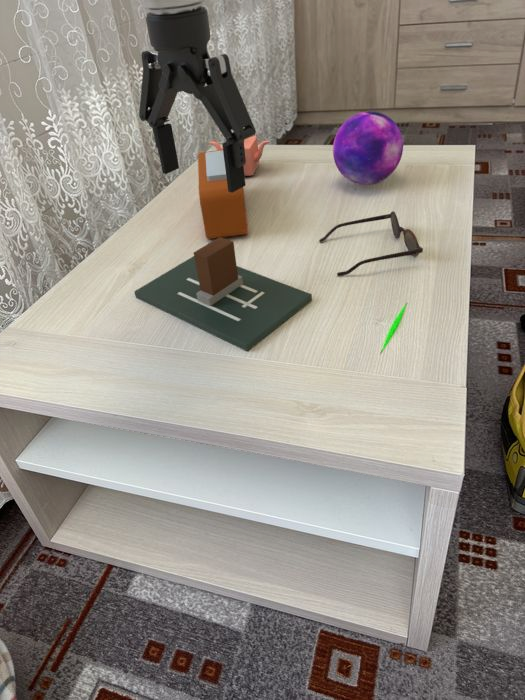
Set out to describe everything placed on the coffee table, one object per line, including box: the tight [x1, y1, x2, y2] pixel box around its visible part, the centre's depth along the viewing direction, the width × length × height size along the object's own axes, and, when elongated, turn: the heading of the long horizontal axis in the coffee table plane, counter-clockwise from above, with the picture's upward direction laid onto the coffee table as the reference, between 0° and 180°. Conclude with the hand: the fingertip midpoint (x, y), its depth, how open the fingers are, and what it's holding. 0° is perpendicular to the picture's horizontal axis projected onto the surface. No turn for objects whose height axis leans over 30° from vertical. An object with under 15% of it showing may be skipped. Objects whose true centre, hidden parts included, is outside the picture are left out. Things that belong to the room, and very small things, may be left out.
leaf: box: [379, 302, 408, 355], centre depth 83 cm, size 1×14×1 cm, turn 153°
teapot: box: [208, 135, 270, 177], centre depth 133 cm, size 12×15×8 cm
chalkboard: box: [133, 255, 313, 352], centre depth 92 cm, size 26×16×1 cm, turn 50°
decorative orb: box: [332, 110, 404, 186], centre depth 120 cm, size 15×15×15 cm
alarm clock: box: [197, 149, 249, 240], centre depth 114 cm, size 24×8×11 cm, turn 6°
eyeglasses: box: [318, 211, 424, 277], centre depth 99 cm, size 15×15×5 cm
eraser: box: [193, 237, 243, 306], centre depth 89 cm, size 8×3×8 cm, turn 139°
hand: (202, 179), depth 79 cm, fingers open, 13 cm apart
